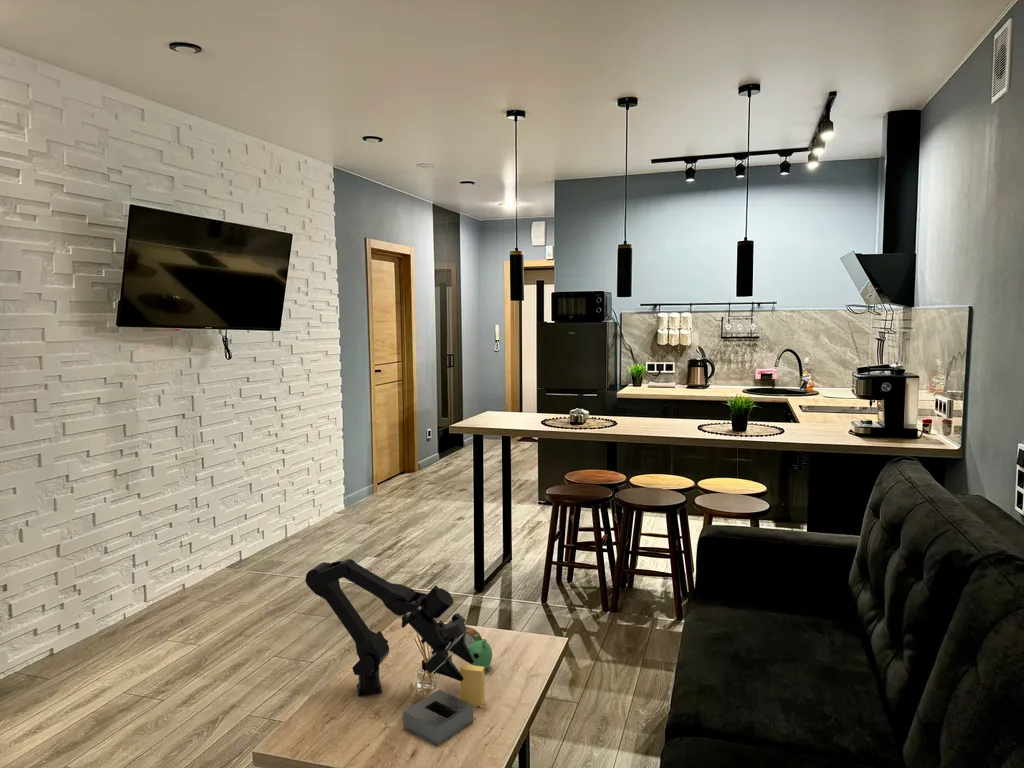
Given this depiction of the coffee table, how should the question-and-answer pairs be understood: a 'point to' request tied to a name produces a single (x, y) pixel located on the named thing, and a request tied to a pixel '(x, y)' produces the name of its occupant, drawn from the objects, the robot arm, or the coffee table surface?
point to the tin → (470, 636)
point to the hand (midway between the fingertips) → (467, 671)
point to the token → (472, 685)
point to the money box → (437, 717)
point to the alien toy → (481, 652)
